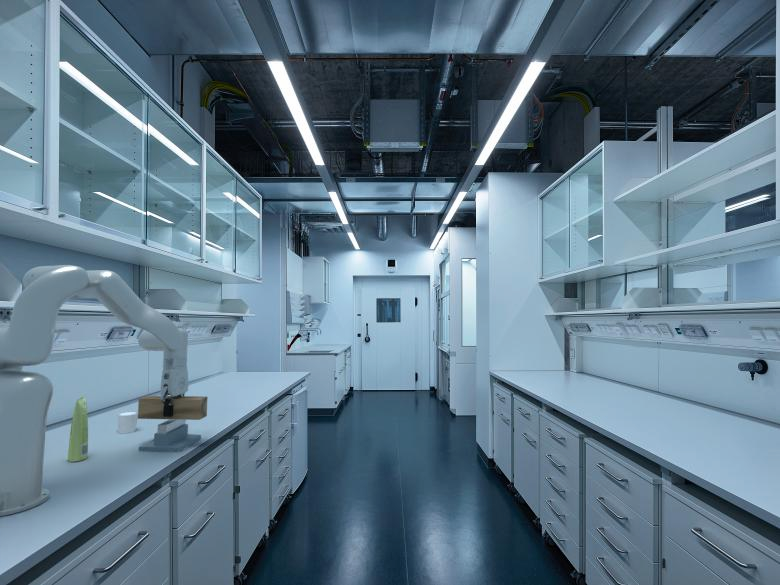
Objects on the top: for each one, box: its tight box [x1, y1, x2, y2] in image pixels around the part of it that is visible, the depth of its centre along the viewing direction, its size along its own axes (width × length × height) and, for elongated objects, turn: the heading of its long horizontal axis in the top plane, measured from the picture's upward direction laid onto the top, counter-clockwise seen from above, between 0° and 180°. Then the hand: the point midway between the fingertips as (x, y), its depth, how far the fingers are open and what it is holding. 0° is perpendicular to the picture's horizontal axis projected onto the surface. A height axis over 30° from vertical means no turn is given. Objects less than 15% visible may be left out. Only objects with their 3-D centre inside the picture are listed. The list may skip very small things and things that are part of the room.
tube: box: [67, 395, 89, 463], centre depth 122 cm, size 6×5×20 cm
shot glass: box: [116, 411, 138, 435], centre depth 151 cm, size 7×7×7 cm
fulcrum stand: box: [138, 419, 202, 453], centre depth 136 cm, size 14×14×8 cm
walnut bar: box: [137, 395, 208, 421], centre depth 137 cm, size 5×22×7 cm, turn 89°
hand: (172, 413), depth 137 cm, fingers closed on walnut bar, 4 cm apart
